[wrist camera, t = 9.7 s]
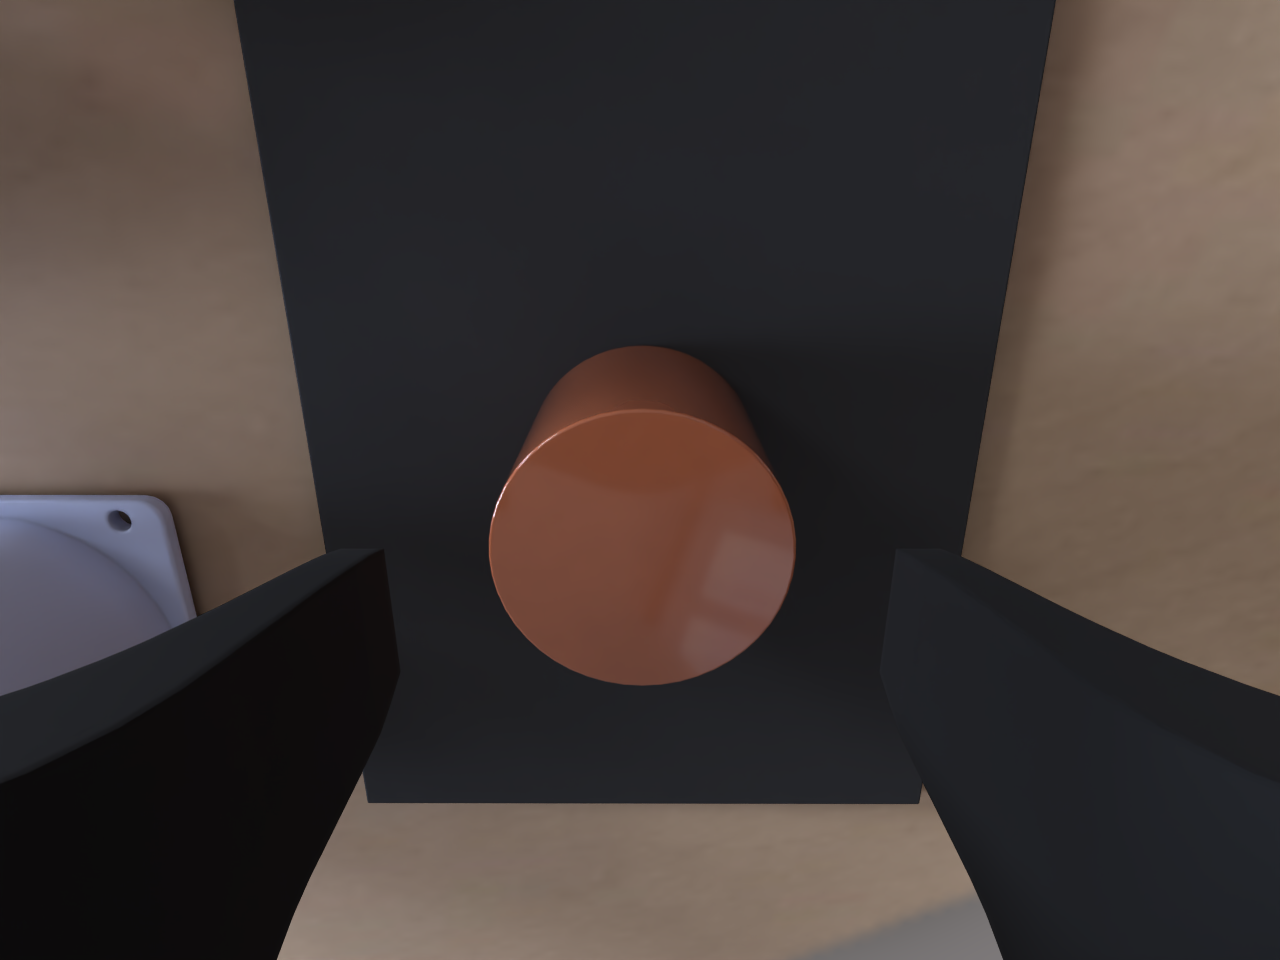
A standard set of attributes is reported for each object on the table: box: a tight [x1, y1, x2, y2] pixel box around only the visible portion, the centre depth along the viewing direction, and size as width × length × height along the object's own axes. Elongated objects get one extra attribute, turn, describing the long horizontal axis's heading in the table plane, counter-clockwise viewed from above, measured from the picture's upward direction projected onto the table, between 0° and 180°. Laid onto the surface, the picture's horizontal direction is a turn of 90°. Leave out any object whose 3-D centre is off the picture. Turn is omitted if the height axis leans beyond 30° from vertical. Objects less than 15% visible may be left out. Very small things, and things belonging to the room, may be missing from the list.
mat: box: [234, 0, 1056, 804], centre depth 17 cm, size 15×20×1 cm
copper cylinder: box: [489, 345, 796, 686], centre depth 15 cm, size 5×5×5 cm
